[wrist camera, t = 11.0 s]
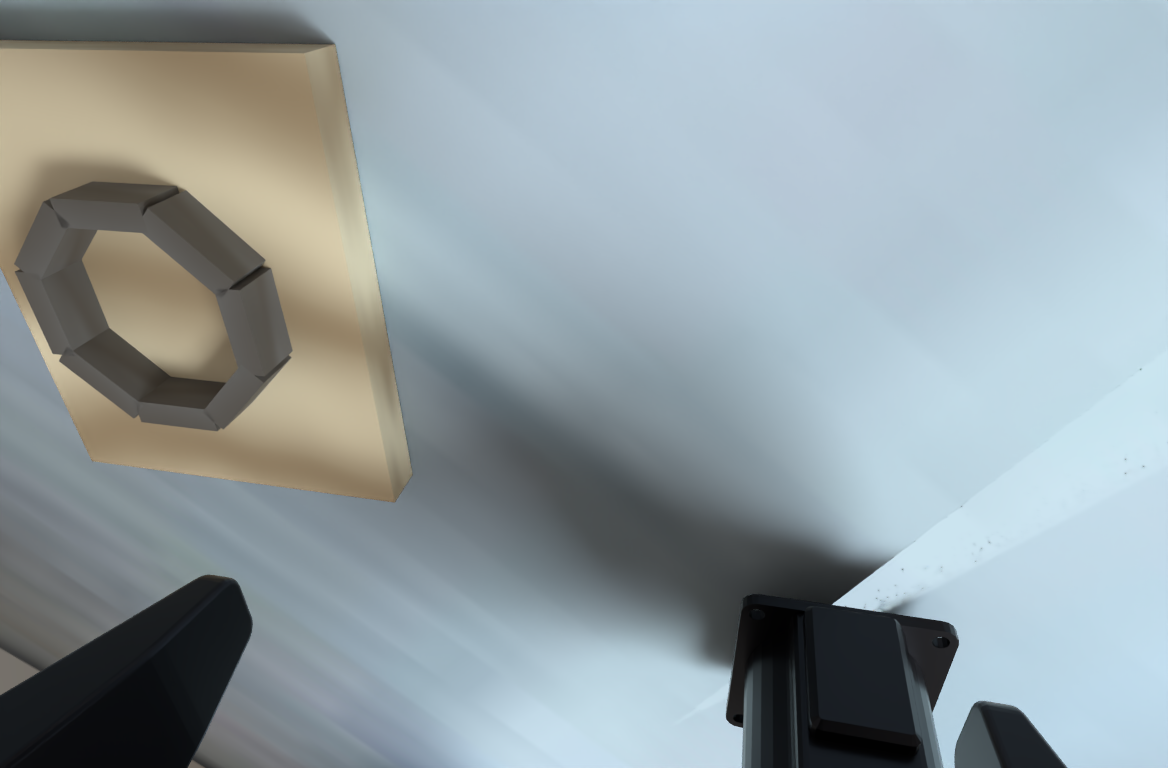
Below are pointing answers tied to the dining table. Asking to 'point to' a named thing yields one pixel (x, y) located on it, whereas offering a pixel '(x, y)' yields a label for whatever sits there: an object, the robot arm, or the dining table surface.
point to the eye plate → (260, 190)
